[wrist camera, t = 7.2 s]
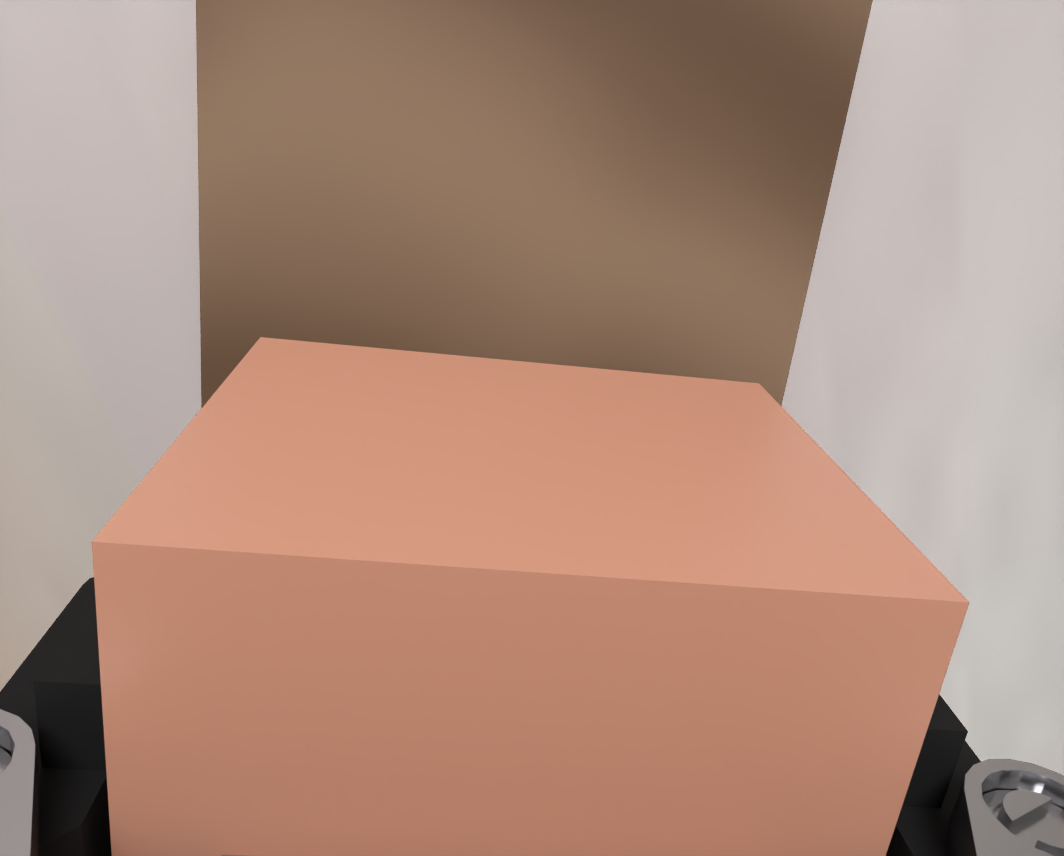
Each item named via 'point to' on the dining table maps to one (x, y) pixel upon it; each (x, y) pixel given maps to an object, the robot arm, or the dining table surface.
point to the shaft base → (520, 177)
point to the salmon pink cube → (507, 621)
